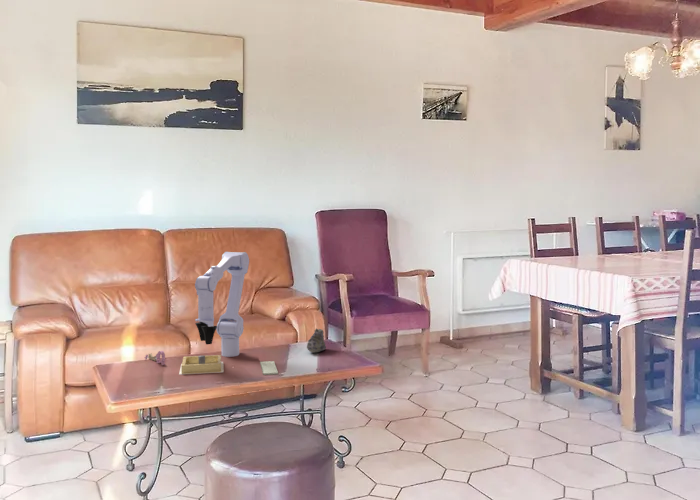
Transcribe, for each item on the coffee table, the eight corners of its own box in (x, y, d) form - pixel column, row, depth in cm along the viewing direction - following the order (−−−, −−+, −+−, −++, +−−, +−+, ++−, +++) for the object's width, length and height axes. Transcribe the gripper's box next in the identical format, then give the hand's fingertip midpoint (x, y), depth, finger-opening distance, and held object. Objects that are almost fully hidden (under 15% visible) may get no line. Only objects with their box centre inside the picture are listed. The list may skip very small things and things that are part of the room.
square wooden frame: (183, 364, 253) (183, 356, 253) (220, 362, 256) (220, 355, 256) (181, 373, 240) (181, 365, 239) (221, 371, 242) (220, 363, 242)
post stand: (181, 367, 254) (181, 352, 254) (223, 365, 257) (223, 350, 257) (179, 378, 239) (178, 362, 238) (223, 376, 242) (223, 360, 241)
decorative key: (146, 366, 268) (166, 368, 252) (143, 367, 267) (163, 368, 252) (145, 350, 268) (164, 350, 253) (142, 350, 267) (161, 351, 252)
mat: (228, 364, 259) (228, 363, 259) (273, 362, 262) (273, 361, 262) (229, 376, 241) (229, 375, 241) (277, 374, 245) (277, 372, 245)
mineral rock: (310, 356, 274) (310, 332, 273) (295, 351, 281) (295, 328, 281) (334, 351, 282) (334, 328, 281) (318, 347, 290) (318, 325, 289)
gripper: (190, 305, 255) (191, 339, 256) (200, 310, 242) (200, 346, 243) (208, 304, 258) (209, 338, 259) (218, 309, 245) (219, 345, 246)
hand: (206, 342), depth 251 cm, fingers open, 7 cm apart
